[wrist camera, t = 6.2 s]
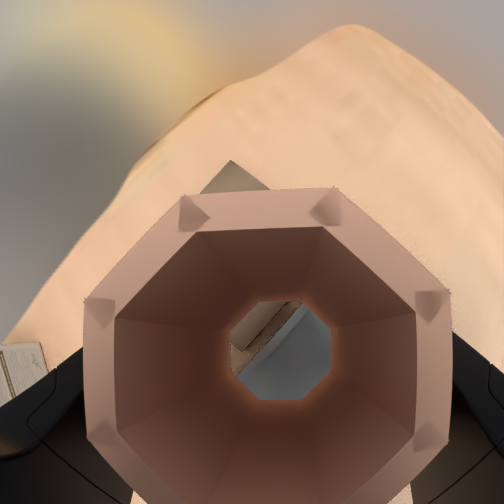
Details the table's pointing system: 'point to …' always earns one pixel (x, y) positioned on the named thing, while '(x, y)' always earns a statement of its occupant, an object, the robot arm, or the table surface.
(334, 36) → the table surface
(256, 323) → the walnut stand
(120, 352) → the ring tube
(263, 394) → the charcoal tray
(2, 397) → the syrup box
